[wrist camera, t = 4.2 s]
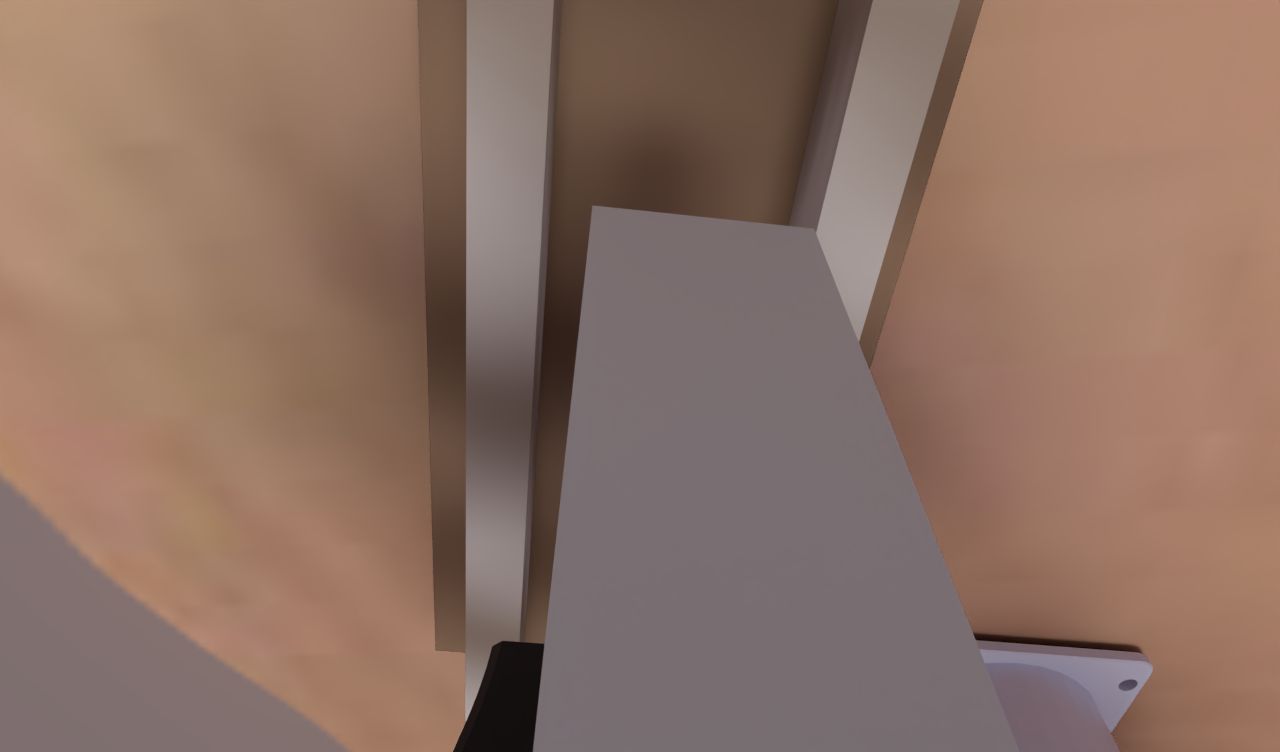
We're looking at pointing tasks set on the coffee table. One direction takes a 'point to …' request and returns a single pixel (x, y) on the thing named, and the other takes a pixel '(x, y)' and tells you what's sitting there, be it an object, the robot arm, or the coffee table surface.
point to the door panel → (742, 518)
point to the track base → (639, 180)
